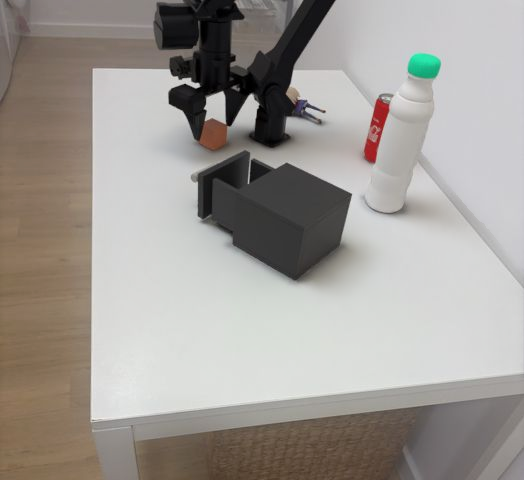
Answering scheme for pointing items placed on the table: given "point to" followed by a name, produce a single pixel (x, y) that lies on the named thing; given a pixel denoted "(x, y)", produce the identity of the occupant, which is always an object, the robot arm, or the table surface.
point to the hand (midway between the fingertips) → (213, 132)
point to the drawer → (225, 186)
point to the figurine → (301, 104)
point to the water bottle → (403, 135)
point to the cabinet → (289, 219)
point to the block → (213, 134)
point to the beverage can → (377, 126)
